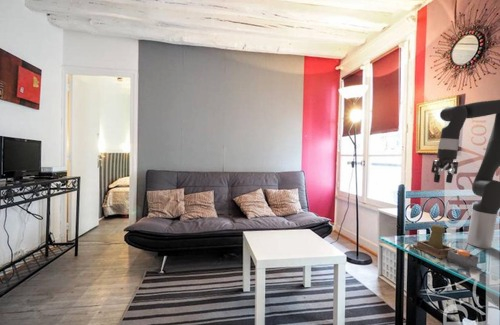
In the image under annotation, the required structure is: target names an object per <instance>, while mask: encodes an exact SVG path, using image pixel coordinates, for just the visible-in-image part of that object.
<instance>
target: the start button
mask: <svg viewBox="0 0 500 325" xmlns="http://www.w3.org/2000/svg"><path fill="white" fill-rule="evenodd" d="M456 250H457V254H460V255H462V256H464V257H469V256H470V254H471V252H470V251H469V250H465V249H461V248H458V249H456Z"/></svg>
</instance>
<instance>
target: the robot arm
mask: <svg viewBox="0 0 500 325" xmlns="http://www.w3.org/2000/svg"><path fill="white" fill-rule="evenodd" d="M492 115H495V116H494V122H493V126H492V129H491V133H490V136H489V139H488V141H487V145H486V148H485V152H484V155H483V158H482V160H481V164H480V167H479V170H478V171H477V173H476V175H475V177H474V180H473V183H472V185H471V191H472V193H473V194H474V195H476V196H478V197H481V200H480V202H478V203H477V202H476V203H473V205H472V209H471V213H470V214H471V215H470V220H469V221H470V222H469V227H468V233H467V237H466V238H467V239H466V243H467V244H468V245H471V246H474V247H477V248H480V249H484V250H485V249H486V250H488V249H489V250H490V249H492V247H491V246H493V239H494V235H495V230H496V229H495V228H496V222H497V216H498V212H499V211H500V181H498V180H495V179H494V176H495V173H496V171H497V170H498V169H499V167H500V99H495V100H494V99H493V100H484V101H483V100H482V101H477V102H476V101H475V102H469V103H467V104H466V103H465V104H460V105H459V104H458V105H451V106H446V107H444V108H443V109H442V110H441V111H440V112H439V117H440V119H441V120H442V121H444V122H448V124H447V125H446V126H443V127H442V129H441V132H440V138H439V139H440V140H439V142H438V146H437V153H436V157H437V158H438V160H437V159H433V161H432V165H431V173H432V174H434V175H433V182H434V183H440V178H441V174H442V172H444V171H445V172H446V179H445V183H448V184H452V182H453V177H454V176H455V175H457V173H458V167H459V162H458V161H454V160H456V159H457V157H458V151H459V144H460V142H459V141H460V140H459V139H460V134H461V130H462V128H463V126H464V124H465V122H466V120H467V119H476V118H481V117H482V118H483V117H487V116H492Z"/></svg>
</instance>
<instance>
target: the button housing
mask: <svg viewBox="0 0 500 325" xmlns="http://www.w3.org/2000/svg"><path fill="white" fill-rule="evenodd" d="M446 260H447V261H448V262H450V263H453V264H456V265H457V266H459V267H461V268H465V269H469V268H476V267H478V262H479V256H476V255H474V254H472V253H470V256H469V257H464V256H462V255H460V254H457V249H455V250H450V251H448V256H447V258H446Z"/></svg>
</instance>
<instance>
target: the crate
mask: <svg viewBox="0 0 500 325" xmlns="http://www.w3.org/2000/svg"><path fill="white" fill-rule="evenodd" d="M428 241H429V239H427V240H417V241H416V243H415V244H413V245H412V248H415V249H417V250H420V251H421V252H424V253H426V254H428V255H430V256H432V257H434V256H435V258H437V259H439V258H440V259H447V256H448V251H450V250H456V248H454V247H451V246H450V245H447V244H444V243H443V249H437V248H434V247H432V246H429V245H427V244H428Z"/></svg>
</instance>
